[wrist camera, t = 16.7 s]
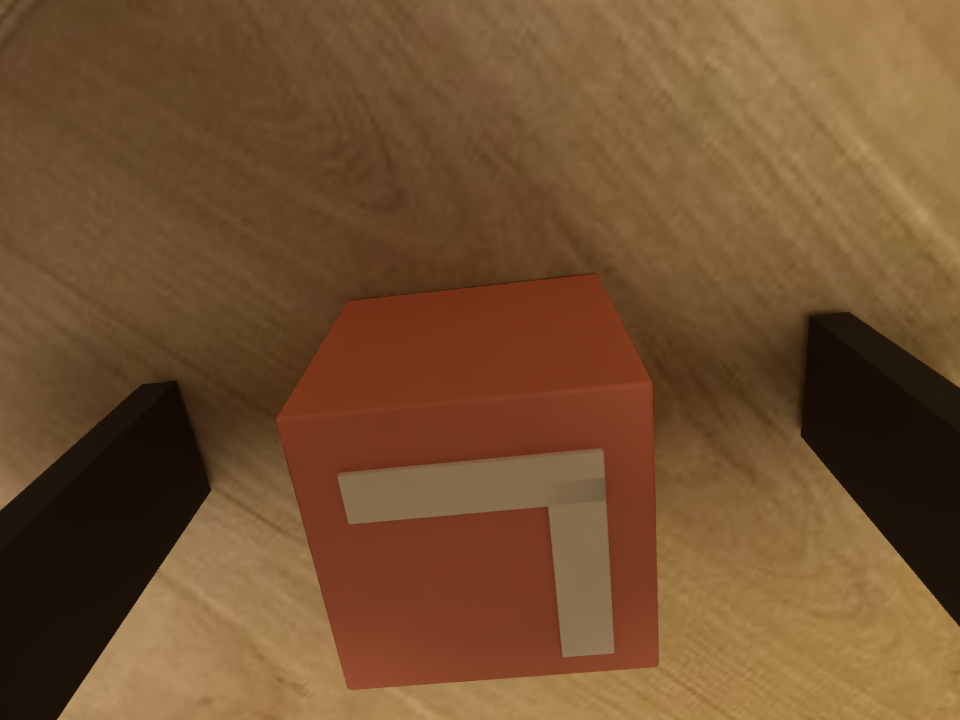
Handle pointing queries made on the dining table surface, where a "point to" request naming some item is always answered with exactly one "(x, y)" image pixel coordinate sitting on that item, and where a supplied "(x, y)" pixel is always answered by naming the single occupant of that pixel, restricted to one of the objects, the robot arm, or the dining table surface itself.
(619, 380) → the letter block l
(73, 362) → the dining table surface
